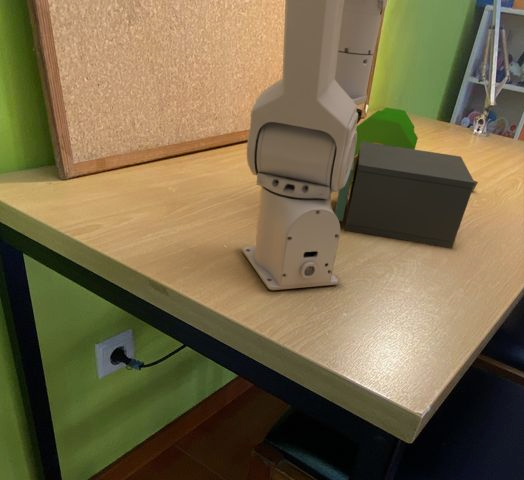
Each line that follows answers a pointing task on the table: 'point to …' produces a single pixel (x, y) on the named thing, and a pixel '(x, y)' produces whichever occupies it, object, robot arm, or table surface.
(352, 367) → the table surface
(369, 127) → the decorative tree
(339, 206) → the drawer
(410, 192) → the cabinet
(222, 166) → the table surface
